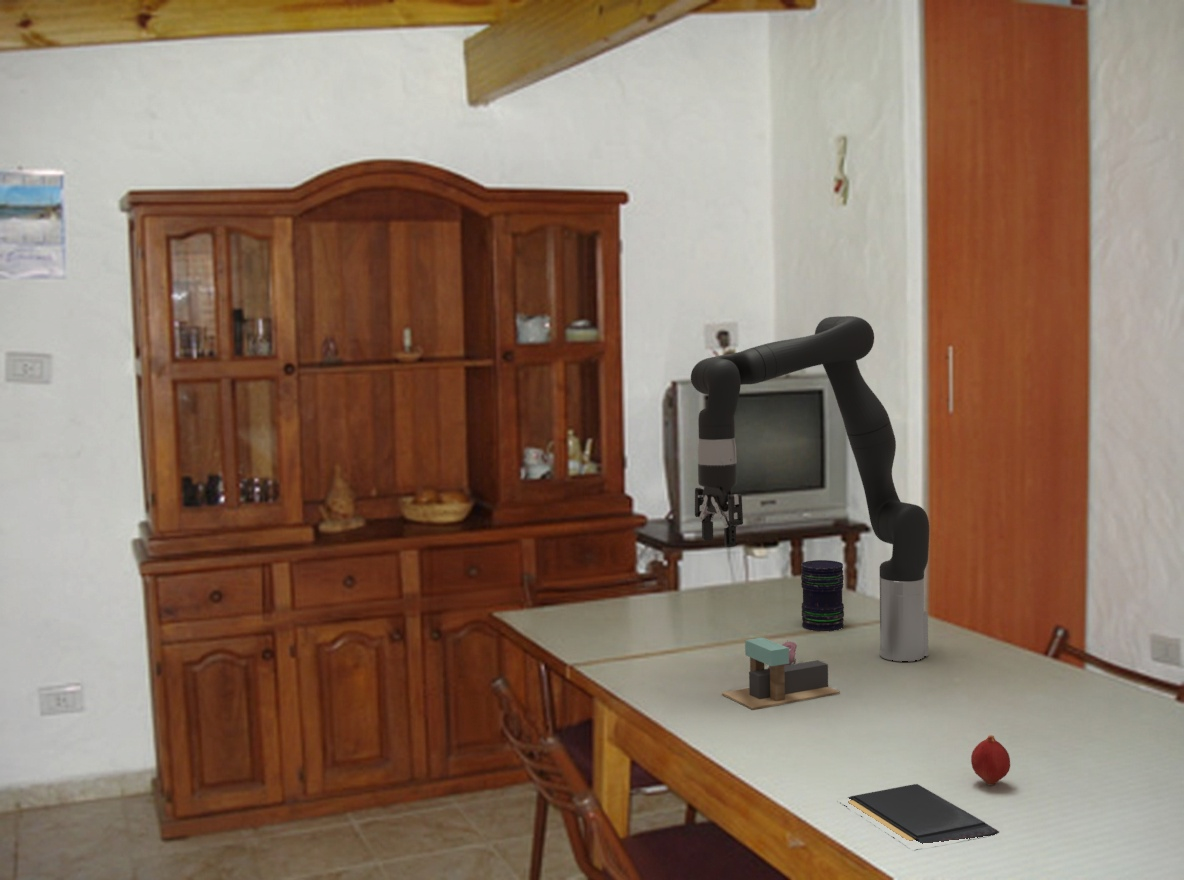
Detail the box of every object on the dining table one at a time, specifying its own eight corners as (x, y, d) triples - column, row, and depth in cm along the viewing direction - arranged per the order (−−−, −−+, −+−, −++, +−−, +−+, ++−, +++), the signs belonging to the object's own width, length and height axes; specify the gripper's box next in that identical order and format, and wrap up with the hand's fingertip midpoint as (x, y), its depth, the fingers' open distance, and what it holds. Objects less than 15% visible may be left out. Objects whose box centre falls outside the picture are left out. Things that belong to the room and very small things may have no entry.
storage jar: (850, 624, 293) (849, 562, 292) (835, 633, 285) (834, 569, 284) (811, 619, 299) (810, 558, 297) (794, 628, 290) (794, 566, 289)
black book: (1002, 825, 174) (908, 843, 169) (1002, 838, 174) (909, 856, 169) (921, 777, 193) (834, 791, 188) (921, 789, 193) (834, 803, 188)
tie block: (762, 652, 244) (762, 637, 243) (789, 663, 235) (788, 647, 235) (745, 655, 242) (745, 640, 242) (771, 666, 234) (771, 650, 233)
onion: (965, 778, 195) (965, 729, 194) (1000, 776, 195) (1000, 727, 194) (979, 792, 189) (980, 741, 188) (1016, 790, 189) (1016, 739, 189)
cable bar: (817, 682, 246) (817, 660, 246) (828, 686, 243) (827, 664, 243) (749, 694, 240) (749, 671, 239) (759, 699, 237) (758, 676, 236)
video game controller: (785, 683, 253) (800, 654, 252) (765, 673, 253) (780, 644, 252) (787, 670, 262) (802, 641, 261) (768, 660, 263) (782, 631, 262)
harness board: (806, 679, 250) (806, 643, 249) (839, 693, 240) (839, 656, 239) (721, 694, 241) (721, 657, 241) (752, 709, 232) (751, 671, 231)
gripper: (753, 463, 236) (754, 546, 238) (714, 456, 249) (716, 536, 251) (719, 466, 233) (721, 551, 235) (682, 459, 246) (684, 539, 247)
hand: (718, 543), depth 243 cm, fingers open, 8 cm apart
